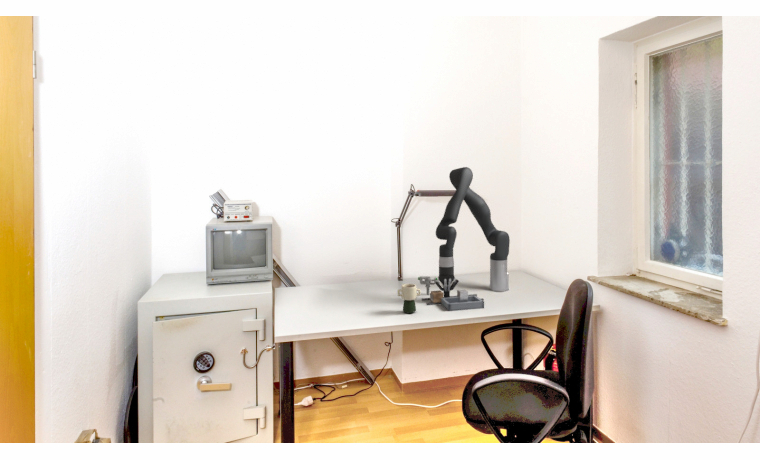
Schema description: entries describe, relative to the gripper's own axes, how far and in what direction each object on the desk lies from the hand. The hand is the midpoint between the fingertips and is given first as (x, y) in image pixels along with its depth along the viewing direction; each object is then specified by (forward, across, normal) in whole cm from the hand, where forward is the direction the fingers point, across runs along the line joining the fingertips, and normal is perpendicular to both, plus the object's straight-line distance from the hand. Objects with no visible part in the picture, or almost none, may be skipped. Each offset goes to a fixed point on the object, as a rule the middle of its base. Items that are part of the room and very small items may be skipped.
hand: (446, 298), depth 216 cm
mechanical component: (+2, +6, -14) cm, 15 cm away
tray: (+2, -4, +11) cm, 12 cm away
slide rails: (+2, -3, 0) cm, 4 cm away
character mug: (+2, +23, +12) cm, 26 cm away
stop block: (+1, -4, +11) cm, 12 cm away
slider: (+1, +5, 0) cm, 5 cm away
